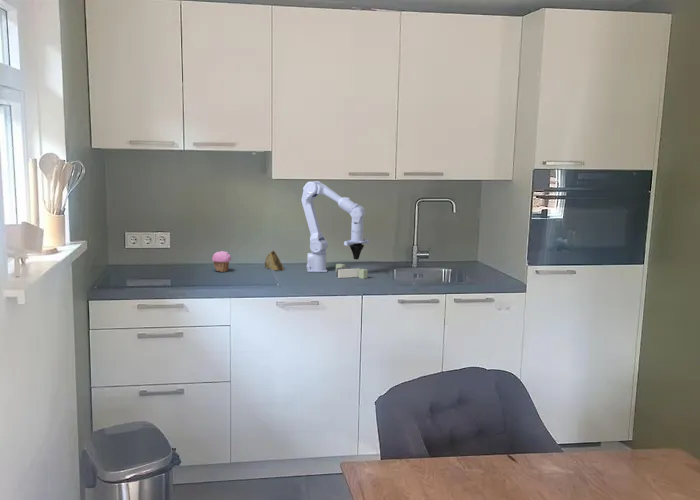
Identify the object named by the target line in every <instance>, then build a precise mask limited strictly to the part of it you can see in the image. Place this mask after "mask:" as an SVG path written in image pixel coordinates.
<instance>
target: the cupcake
mask: <svg viewBox="0 0 700 500" xmlns="http://www.w3.org/2000/svg"><path fill="white" fill-rule="evenodd" d="M211 260H212V262H213V267H214V269H215V271H216V272H221V273H225V272H228V271H229V264H230V261H232V256H231V255H230V253H229V252H228V251H224V250H221V251H216V252H215V253H213V255H212V259H211Z"/></svg>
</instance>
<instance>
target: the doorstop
mask: <svg viewBox="0 0 700 500" xmlns="http://www.w3.org/2000/svg"><path fill="white" fill-rule="evenodd" d="M342 269H352V268H351V267H347V266H346V267H340V268H337V270H336V269H335V273H336V277H337V276H338V270H342Z"/></svg>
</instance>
